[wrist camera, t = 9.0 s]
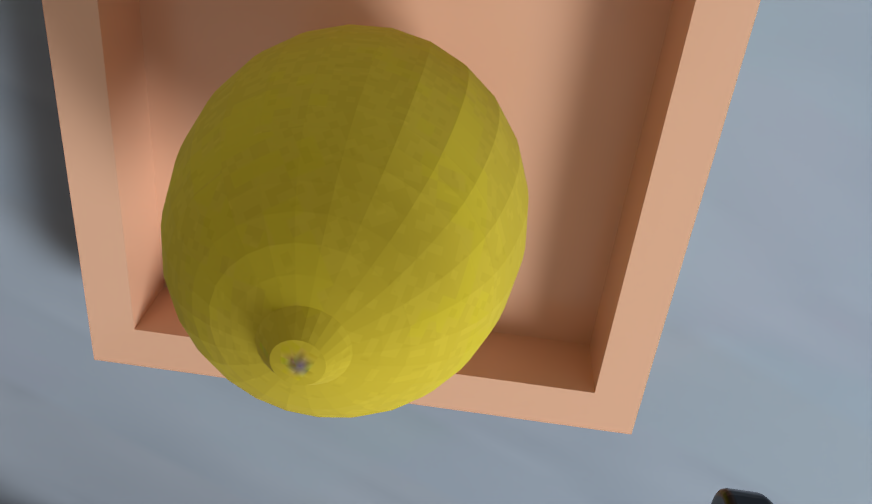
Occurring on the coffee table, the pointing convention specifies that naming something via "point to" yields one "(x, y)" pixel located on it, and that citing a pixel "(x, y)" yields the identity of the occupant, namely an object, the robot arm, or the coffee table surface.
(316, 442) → the coffee table surface
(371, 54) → the lemon
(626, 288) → the dish
